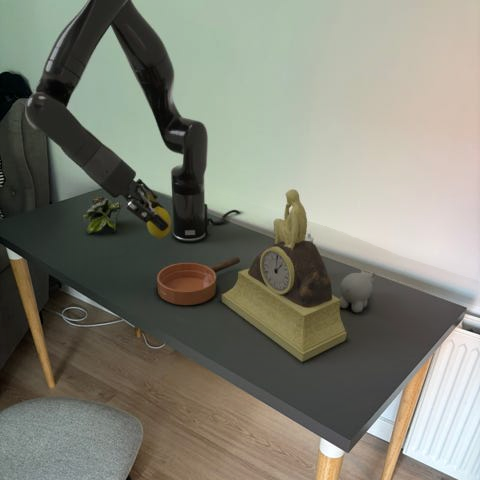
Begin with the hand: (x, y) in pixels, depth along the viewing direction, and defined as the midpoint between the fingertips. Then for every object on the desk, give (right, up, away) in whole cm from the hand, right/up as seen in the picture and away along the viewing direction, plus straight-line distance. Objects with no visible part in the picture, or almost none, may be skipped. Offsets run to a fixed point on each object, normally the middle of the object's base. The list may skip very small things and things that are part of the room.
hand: (166, 222), depth 118 cm
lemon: (-2, -4, +2) cm, 5 cm away
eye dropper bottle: (+34, -11, +16) cm, 39 cm away
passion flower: (-24, +5, +36) cm, 44 cm away
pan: (+4, -15, +8) cm, 18 cm away
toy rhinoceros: (+45, -18, +6) cm, 49 cm away
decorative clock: (+26, -23, -1) cm, 35 cm away
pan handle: (+13, -9, +14) cm, 21 cm away
